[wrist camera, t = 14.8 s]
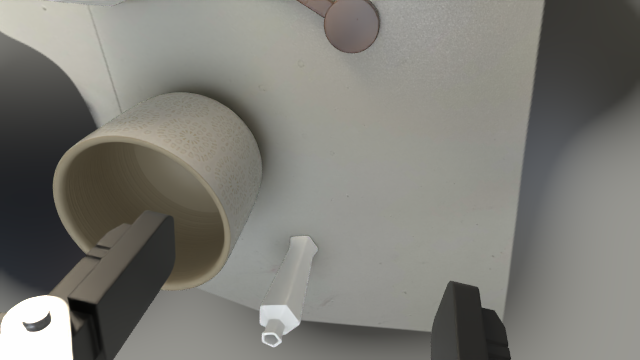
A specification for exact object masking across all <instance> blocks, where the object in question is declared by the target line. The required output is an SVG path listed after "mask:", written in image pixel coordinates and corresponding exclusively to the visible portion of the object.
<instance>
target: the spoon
mask: <svg viewBox="0 0 640 360" xmlns="http://www.w3.org/2000/svg"><path fill="white" fill-rule="evenodd" d="M297 1H299V2H300V3H302V4H303V5H305V6H307V7H308V8H310V9H311V10H313V11H314V12H316V13H317V14H319V15H321V16H322V17H324V18H325V20H324V29H325V33H326V36H327V38H328V40H329V42H330V43H331V44H332V45H333V46H334V47H335V48H337V49H338V50H340V51H342V52H346V53H358V52H361V51H364V50H365V49H367V48H368V47H370V46H371V45H372V43H373V42H374V41H375V39H376V37H377V34H378V31H379V27H380V19H379V15H378V12H377V10H376V8H375V6H374V5H373V4H372V3H371V2H370V1H369V0H336V1H335V2H334V1H332V0H297Z"/></svg>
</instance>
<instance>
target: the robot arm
mask: <svg viewBox="0 0 640 360" xmlns="http://www.w3.org/2000/svg"><path fill="white" fill-rule="evenodd" d="M175 257H176V252H175V229H174V218H173V217H172V216H171V215H167V214H162V213H158V212H154V211H149V210H146V211H144V212H143V213H142V214H141V215H140V216H139V217H138V218H137V219H136V221H135V222H134V223H133V224H132V225H131V224H126V223H123V224H122V225H120V226H118V227H116V228H114V229H112V230H111V231H109V232H107V233H106V234H105V235H104V236H103V237H102V238H101V239H100V240H99V242H98V243H97V244H96V246H95V247H93V248H92V249H91V250H90V251H89V252H88V253H87V254H86V257H83V258H82V260H81V261H80V262H79V263H78V264H77V265H76V266H75V267H74V268H73V269H72V270H71V271H70V272H69V273H68V274H67V275H66V276H65V277H64V279H63V280H62V281H61V282H60V283H59V284H58V285H57V286H56V287H55V288H54V289H53V290H52V291H51V292H50V293H49V294H48V295H47V296H38V297H34V298H30V299H28V300H25V301H23V302H21V303H19V304H18V305H16V306H15V307H13V308H12V309H11V310H10V311H9V312H4V313H0V360H113V359H114V358H115V356H116V355H117V353H118V352H119V350H120V349H121V347H122V346H123V344H124V343H125V341H126V340H127V338H128V337H129V335H130V334H131V332H132V331H133V329H134V328H135V326H136V325H137V324H138V322H139V320H140V319H141V318H142V316H143V315H144V313H145V312H146V310H147V309H148V307H149V306H150V304H151V303H152V301H153V300H154V298H155V297H156V295H157V294H158V292H159V291H160V289H161V288H162V286H163V285H164V283H165V282H166V280H167V279H168V278H169V276H170V274H171V272H172V270H173V267H174V263H175ZM510 359H511V357H510V351H509V348H508V341H507V335H506V330H505V327H504V325H503V323H502V322H501V320H500V319H499V317H498V315H497V314H496V312H495V311H494V310H490V309H485V308H482V307H481V300H480V293H479V289H478V287H475V286H471V285H467V284H462V283H458V282H454V281H450V282H449V283H448V285H447V287H446V290H445V292H444V295H443V298H442V300H441V303H440V305H439V308H438V311H437V313H436V316H435V319H434V322H433V327H432V333H431V360H510Z"/></svg>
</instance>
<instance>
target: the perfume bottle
mask: <svg viewBox="0 0 640 360" xmlns="http://www.w3.org/2000/svg"><path fill="white" fill-rule="evenodd" d="M317 251H318V248H317V246H316V245H315V243H314V242H313V241H312V239H311V238H310V236H294V237H291V238H290V248H289V250H288V252H287V254H286V256H285V258H284V260H283V262H282V264H281V266H280V268H279V270H278V272H277V274H276V276H275V278H274V280H273V282H272V284H271V286H270V288H269V290H268V292H267V294H266V296H265V298H264V300H263V302H262V304H261V306H260V325H262V326H264V327H266V328H265V331H264V332H263V333H262V342H263V343H265V344H267V345H270V346H272V347H276V346H277V345H279V344H280V343H281V342H282V340H281V338H282V335H285V334H287V333H288V332H289V331H291V330H292V329H294V328H295V327H296V326H298V325H299V324H300V321H301V316H302V311H303V305H304V300H305V295H306V290H307V285H308V279H309V274H310V269H311V264H312V259H313V256H314V255H315V254H316V252H317Z"/></svg>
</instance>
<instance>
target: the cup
mask: <svg viewBox="0 0 640 360" xmlns="http://www.w3.org/2000/svg"><path fill="white" fill-rule="evenodd" d="M46 1H56V2H66V3H76V4H88V5H101V6H114V5H117V4H119V3H121V2H123V1H126V0H46Z"/></svg>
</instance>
